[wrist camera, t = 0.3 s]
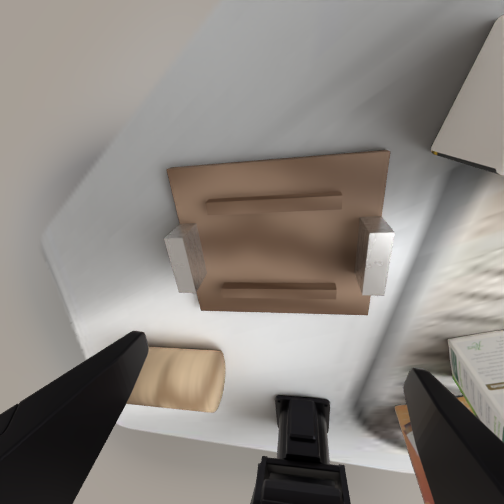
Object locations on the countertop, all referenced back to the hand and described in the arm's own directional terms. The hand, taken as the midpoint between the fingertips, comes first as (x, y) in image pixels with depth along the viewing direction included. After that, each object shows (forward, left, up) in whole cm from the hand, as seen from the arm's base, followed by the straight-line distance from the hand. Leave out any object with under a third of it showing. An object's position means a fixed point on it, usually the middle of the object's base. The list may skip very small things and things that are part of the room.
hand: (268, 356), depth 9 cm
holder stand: (-3, +1, -14) cm, 14 cm away
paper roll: (-18, +13, -14) cm, 26 cm away
